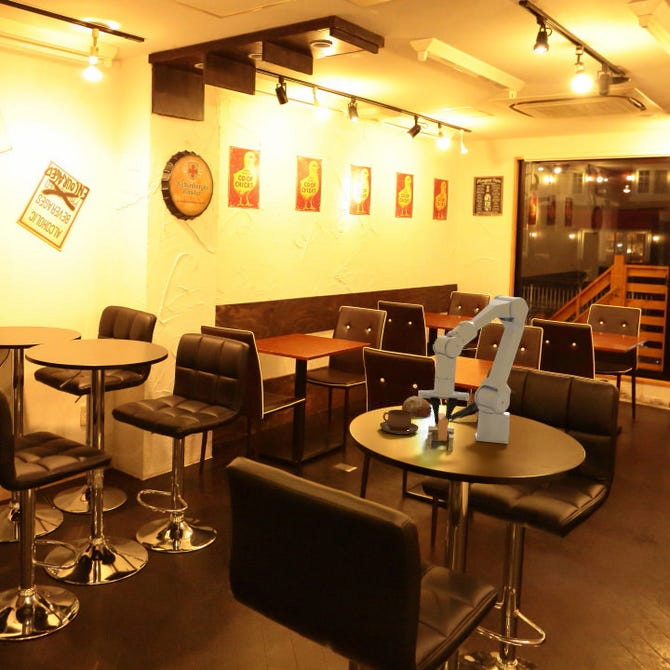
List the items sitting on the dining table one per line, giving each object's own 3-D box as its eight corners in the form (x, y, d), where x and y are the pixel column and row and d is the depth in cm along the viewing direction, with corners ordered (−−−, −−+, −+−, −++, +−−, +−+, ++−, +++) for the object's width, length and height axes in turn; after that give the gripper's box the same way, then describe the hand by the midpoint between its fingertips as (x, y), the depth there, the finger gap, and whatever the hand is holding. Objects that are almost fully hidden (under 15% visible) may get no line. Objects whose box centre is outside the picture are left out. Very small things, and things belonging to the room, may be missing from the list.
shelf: (452, 439, 217) (454, 422, 217) (452, 451, 206) (454, 432, 205) (428, 437, 219) (429, 420, 218) (426, 448, 207) (427, 430, 206)
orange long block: (442, 432, 215) (444, 413, 214) (446, 440, 207) (448, 420, 206) (434, 432, 215) (436, 412, 214) (438, 440, 207) (439, 419, 206)
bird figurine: (451, 422, 235) (486, 372, 234) (444, 415, 245) (478, 367, 244) (483, 444, 237) (519, 394, 236) (476, 436, 247) (509, 388, 245)
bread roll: (406, 420, 254) (398, 399, 253) (433, 410, 252) (425, 389, 251) (405, 427, 244) (396, 405, 243) (433, 416, 242) (425, 394, 242)
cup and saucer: (375, 433, 220) (376, 414, 220) (385, 424, 232) (386, 406, 231) (413, 439, 217) (414, 419, 216) (421, 429, 228) (423, 410, 227)
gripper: (467, 376, 212) (463, 420, 214) (418, 373, 212) (415, 418, 214) (471, 380, 205) (468, 427, 207) (421, 378, 205) (417, 424, 207)
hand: (441, 423), depth 210 cm, fingers closed on orange long block, 2 cm apart
